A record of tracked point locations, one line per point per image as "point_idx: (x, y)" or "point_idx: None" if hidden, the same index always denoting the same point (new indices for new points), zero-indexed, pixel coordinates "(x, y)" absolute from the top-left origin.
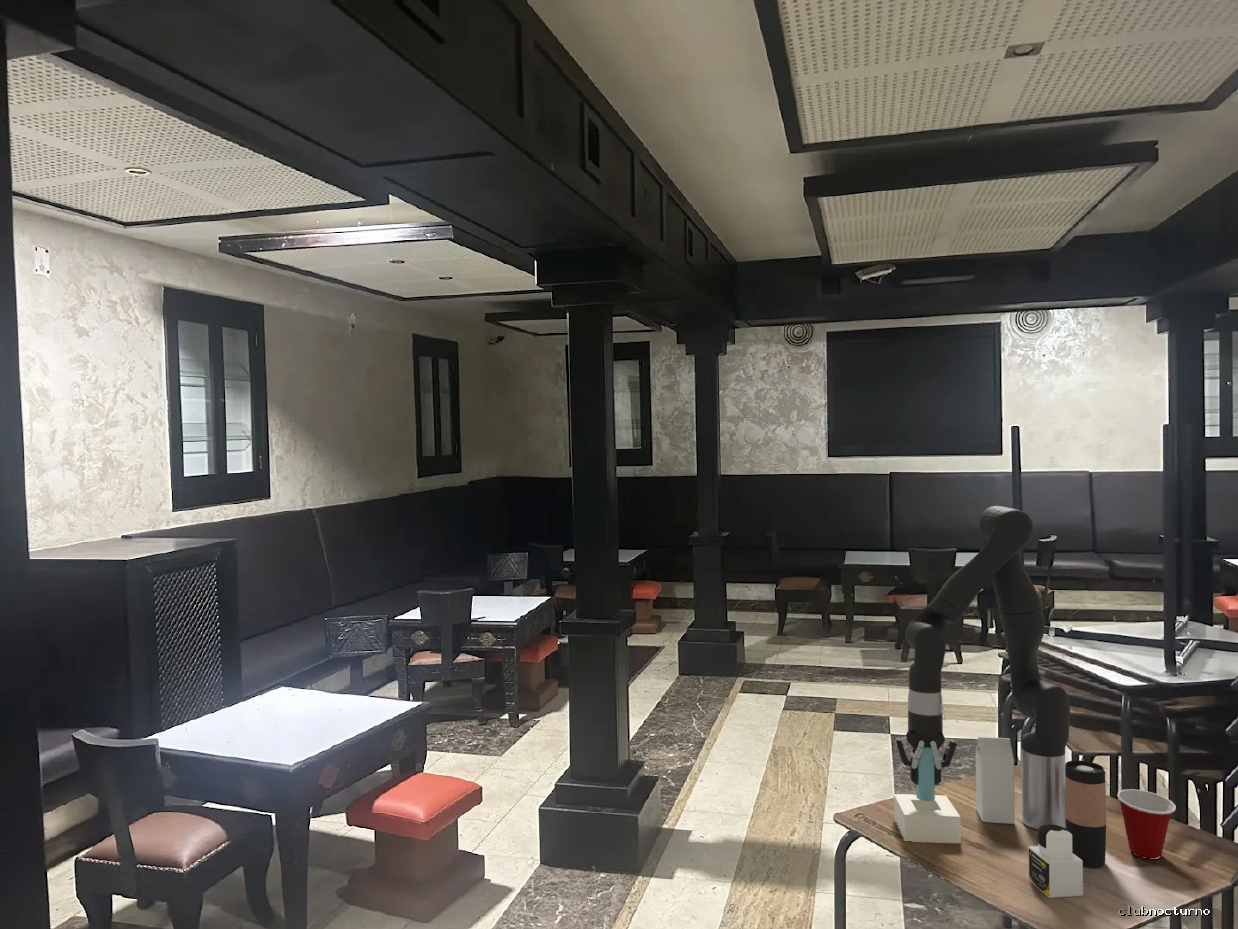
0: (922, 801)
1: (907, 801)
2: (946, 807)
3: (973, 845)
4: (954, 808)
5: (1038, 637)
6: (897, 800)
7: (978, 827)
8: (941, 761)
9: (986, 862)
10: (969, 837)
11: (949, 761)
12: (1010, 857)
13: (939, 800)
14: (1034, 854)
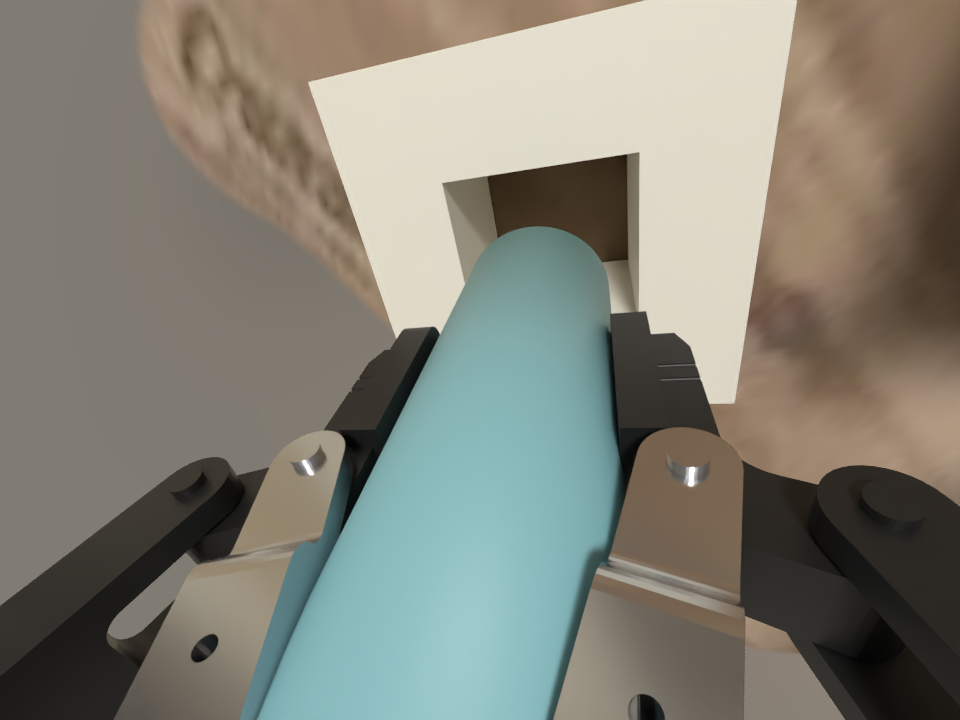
0: (532, 167)
1: (422, 224)
2: (690, 282)
3: (763, 324)
4: (749, 290)
5: None
6: (357, 218)
7: (953, 49)
8: (768, 606)
9: (748, 450)
10: (787, 236)
11: (915, 694)
12: (892, 411)
13: (677, 145)
14: None
